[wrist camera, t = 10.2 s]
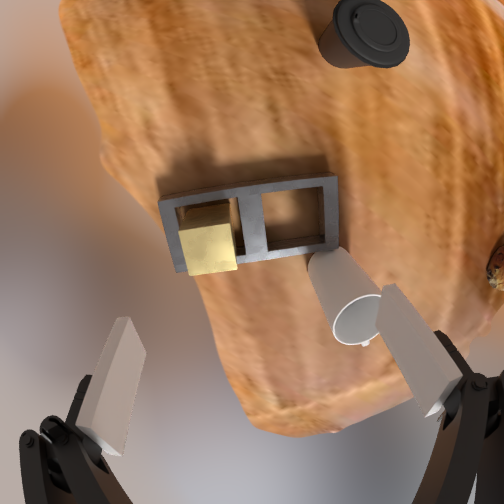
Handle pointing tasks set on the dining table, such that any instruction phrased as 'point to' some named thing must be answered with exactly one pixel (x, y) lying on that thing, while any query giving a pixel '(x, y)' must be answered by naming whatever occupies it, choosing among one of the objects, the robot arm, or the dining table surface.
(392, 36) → the coffee cup
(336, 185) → the grey flat frame
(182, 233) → the pale yellow block
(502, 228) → the dining table surface
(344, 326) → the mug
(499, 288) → the bread roll
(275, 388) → the dining table surface
